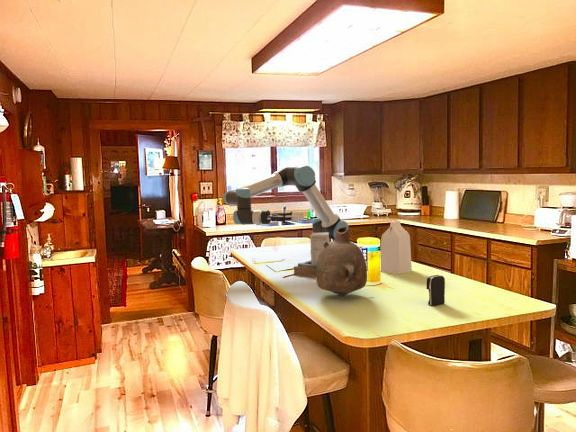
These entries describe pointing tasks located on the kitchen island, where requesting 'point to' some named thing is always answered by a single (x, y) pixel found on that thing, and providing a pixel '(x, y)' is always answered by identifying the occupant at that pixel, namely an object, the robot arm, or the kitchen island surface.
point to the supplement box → (317, 245)
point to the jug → (341, 265)
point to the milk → (395, 250)
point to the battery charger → (436, 289)
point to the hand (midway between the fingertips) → (301, 216)
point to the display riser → (305, 269)
